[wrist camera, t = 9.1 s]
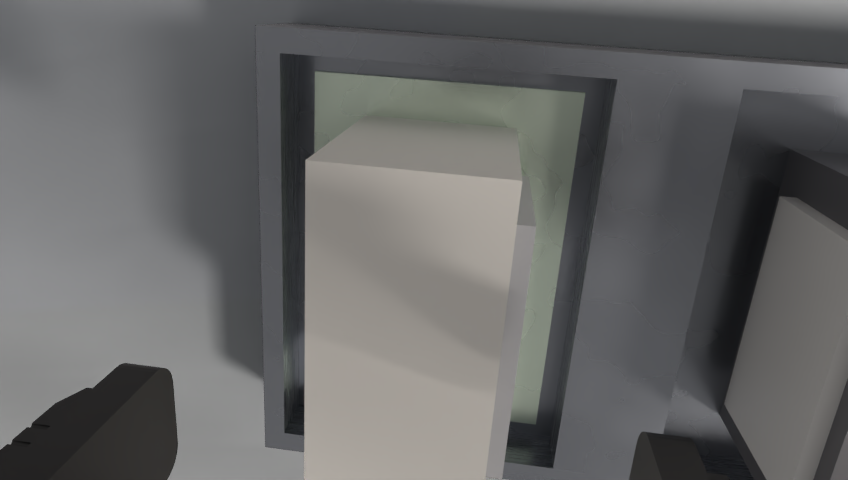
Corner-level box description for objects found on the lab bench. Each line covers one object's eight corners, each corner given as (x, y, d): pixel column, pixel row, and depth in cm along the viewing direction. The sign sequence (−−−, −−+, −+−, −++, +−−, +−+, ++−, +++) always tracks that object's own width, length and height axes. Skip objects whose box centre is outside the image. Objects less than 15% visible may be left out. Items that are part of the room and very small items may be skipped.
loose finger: (532, 129, 17) (545, 183, 11) (498, 392, 19) (497, 531, 14) (365, 115, 17) (305, 160, 12) (356, 375, 20) (303, 503, 15)
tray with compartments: (1067, 79, 16) (1171, 93, 13) (908, 474, 20) (965, 540, 18) (290, 23, 18) (255, 25, 15) (292, 396, 22) (265, 446, 19)
